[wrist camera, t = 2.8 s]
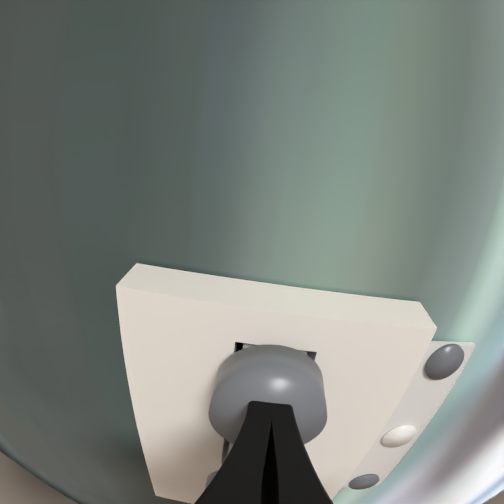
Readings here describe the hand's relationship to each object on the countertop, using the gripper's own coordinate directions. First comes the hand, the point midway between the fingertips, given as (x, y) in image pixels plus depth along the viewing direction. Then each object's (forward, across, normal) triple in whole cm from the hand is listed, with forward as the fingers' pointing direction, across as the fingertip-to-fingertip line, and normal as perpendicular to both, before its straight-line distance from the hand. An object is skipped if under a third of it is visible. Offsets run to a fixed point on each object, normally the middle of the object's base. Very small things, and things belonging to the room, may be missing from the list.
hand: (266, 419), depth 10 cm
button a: (+4, 0, 0) cm, 4 cm away
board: (+4, 0, +6) cm, 7 cm away
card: (+4, -9, +6) cm, 11 cm away
